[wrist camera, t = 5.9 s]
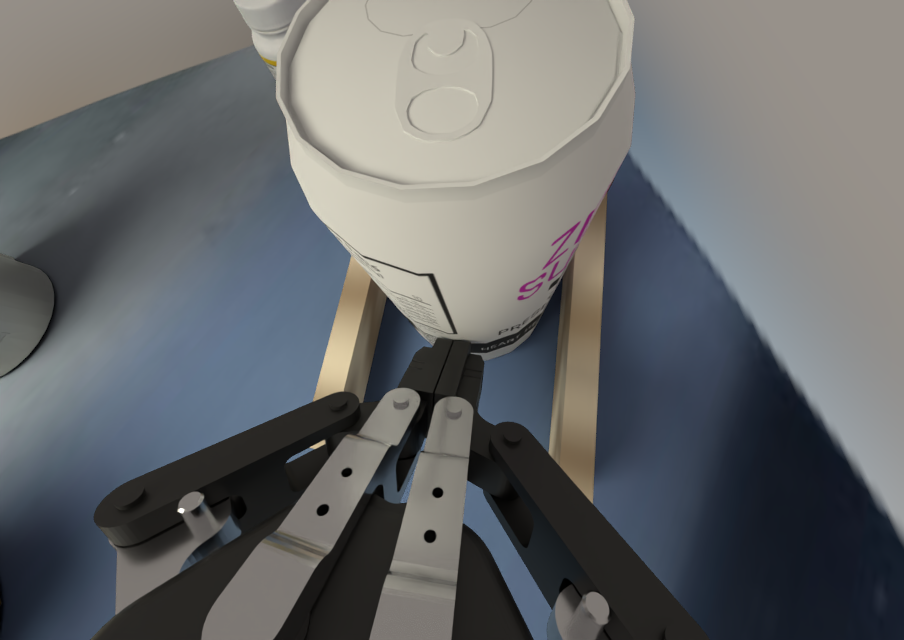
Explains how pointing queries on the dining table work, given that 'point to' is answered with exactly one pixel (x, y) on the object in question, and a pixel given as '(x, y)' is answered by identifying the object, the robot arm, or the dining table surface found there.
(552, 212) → the supplement can
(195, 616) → the robot arm
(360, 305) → the bay
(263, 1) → the supplement bottle
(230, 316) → the dining table surface
